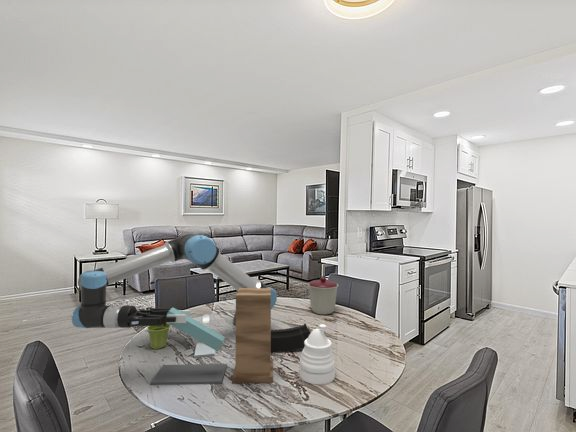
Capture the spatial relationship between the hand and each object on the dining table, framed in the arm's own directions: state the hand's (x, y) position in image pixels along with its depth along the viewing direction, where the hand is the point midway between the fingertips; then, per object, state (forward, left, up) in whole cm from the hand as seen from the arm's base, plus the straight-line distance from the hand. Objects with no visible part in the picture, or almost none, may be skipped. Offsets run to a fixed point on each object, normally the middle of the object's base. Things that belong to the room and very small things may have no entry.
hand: (187, 316), depth 109 cm
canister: (-68, +60, -21) cm, 93 cm away
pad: (0, +1, -21) cm, 21 cm away
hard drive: (-19, +2, -22) cm, 29 cm away
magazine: (-18, +33, -21) cm, 43 cm away
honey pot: (+1, +47, -21) cm, 51 cm away
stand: (0, +24, -21) cm, 32 cm away
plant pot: (-24, -19, -21) cm, 37 cm away
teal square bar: (0, +1, -6) cm, 6 cm away
